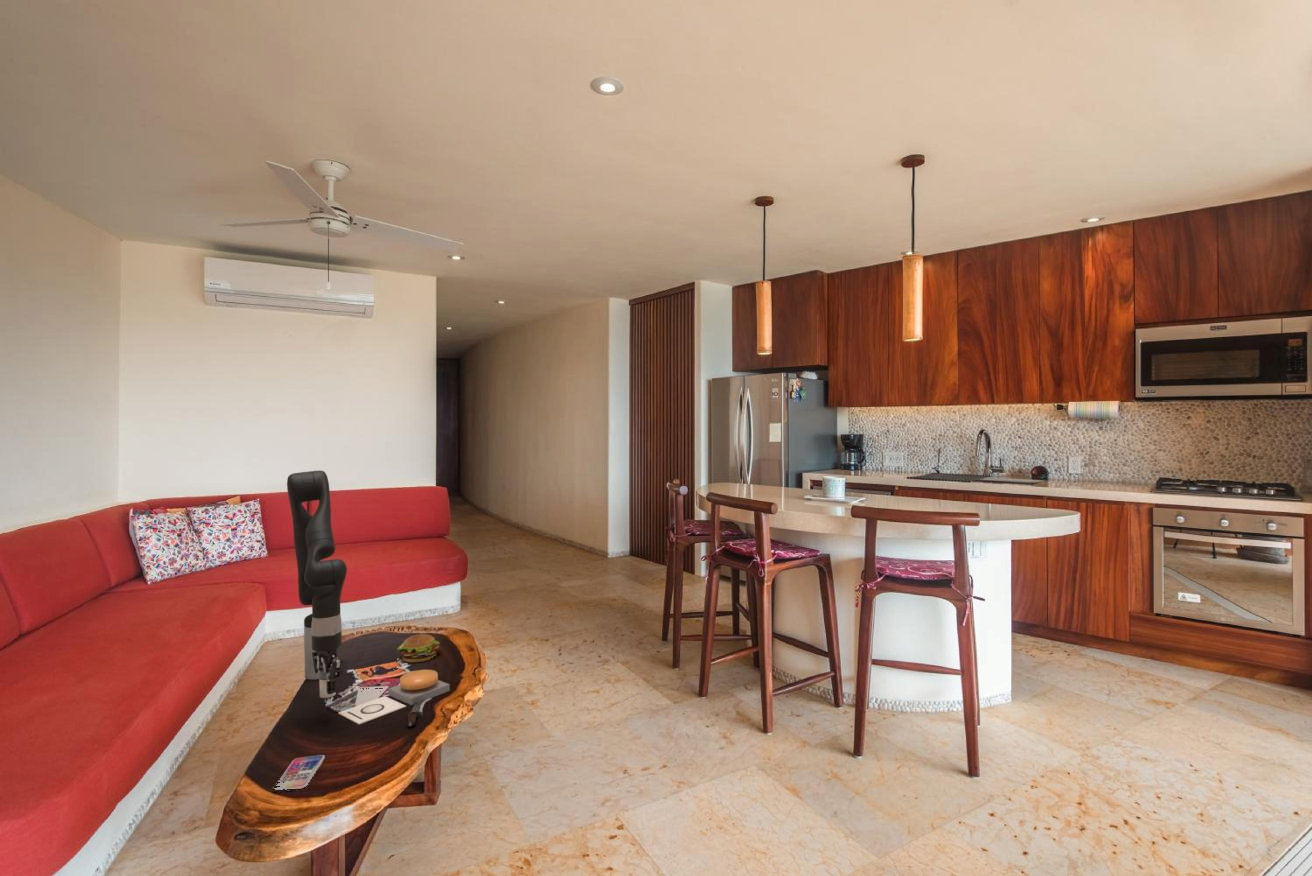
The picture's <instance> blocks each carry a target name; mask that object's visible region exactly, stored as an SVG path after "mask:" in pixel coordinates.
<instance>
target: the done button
mask: <svg viewBox="0 0 1312 876" xmlns="http://www.w3.org/2000/svg"><path fill="white" fill-rule="evenodd" d="M438 680H439V673H438V672H437V671H436V670H434V669H420V670H413V671H411V672H406V673H405V674H403V675H401V676H400V678H399V685H400V687H401V688H403V689H407V690H417V689H423V688H427V687H430V686H432V685H434V684H435V683H437V681H438Z"/></svg>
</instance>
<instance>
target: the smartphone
mask: <svg viewBox="0 0 1312 876" xmlns="http://www.w3.org/2000/svg"><path fill="white" fill-rule="evenodd" d="M325 759H326V756H325V755H324V754H317V755H309V756H303V757H296V758H294V759H293V760H292V761H291V763H289V765H288V767H287V768H286V770H285V771H284V772H283V774H282V775H281V777H280V778H279V779H280V780H279V779H278V781H277V782H280V783H278V784H277V783H276V784H277V785H276V784H275V785H276V786H280V787H277V788H274V787H273V788H274V789H275V790H283V789H285V790H287V789H302V788H304V787H306V786H307V785H308V786H309V784H310V783H311V781H312V780H313V778H314V776H315V775H316V773H317V772H318V770H319V769H320V767H321V765H322V764H323V762H324V760H325ZM316 771H317V772H316ZM314 774H315V775H314ZM312 777H313V778H312ZM311 779H312V780H311ZM310 780H311V781H310ZM283 782H284V783H283ZM309 782H310V783H309ZM308 783H309V784H308ZM308 786H307V787H308ZM307 787H306V788H307ZM302 790H303V789H302ZM287 791H288V790H287Z"/></svg>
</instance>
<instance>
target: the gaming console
mask: <svg viewBox="0 0 1312 876" xmlns="http://www.w3.org/2000/svg"><path fill="white" fill-rule="evenodd" d="M377 682H378V681H376V682H375V681H371V682H367V683H366V685H367V686H366V685H360V686H359V687H358V688H357V694H356V698H355V704H354V707H355V706H358V705H361V704H364V703H367V702H369V701H372V700H375V699H378V698H381V697H383V695H384V693H386V691H388V689H389V688H391V687H392V685H393V684H394V683H395V682H387V681H381V682H382V683H378V684H381V685H382V686H381V685H380V686H376V684H377ZM374 684H375V685H374ZM385 684H390V685H389V686H388V685H387V686H385ZM391 684H392V685H391ZM359 688H361V689H359ZM362 688H364V690H363V689H362ZM366 688H367V689H366ZM368 688H369V689H368ZM375 688H378V689H375ZM379 688H383V689H379ZM361 691H362V692H361ZM363 691H364V692H363ZM380 691H381V692H380ZM354 693H355V691H353V692H352V693H351V695H349V696H348V697H347V698H346V700H348V699H349V698H350V697H351V696H352V695H353V694H354ZM342 707H343V708H342ZM350 708H353V706H347V705H339V706H338V707H336V709H338V710H339V711H340V712H341V711H344V710H347V709H350Z"/></svg>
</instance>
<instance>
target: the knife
mask: <svg viewBox="0 0 1312 876" xmlns="http://www.w3.org/2000/svg"><path fill="white" fill-rule="evenodd" d="M432 698H433V697H432ZM432 698H429V699H426V700H423V701H421V702H417V703H415V704H414V705H413V707H412V709H411V711H410V712H409V713H408V714H407V718H408V721H407V724H406V725H407V727H412V726H415V725H416V721H417V720H416V719H418V718H422V717H423V709H424V706H425V704H426V703H427V702H428V701H430V700H431V699H432Z"/></svg>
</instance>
